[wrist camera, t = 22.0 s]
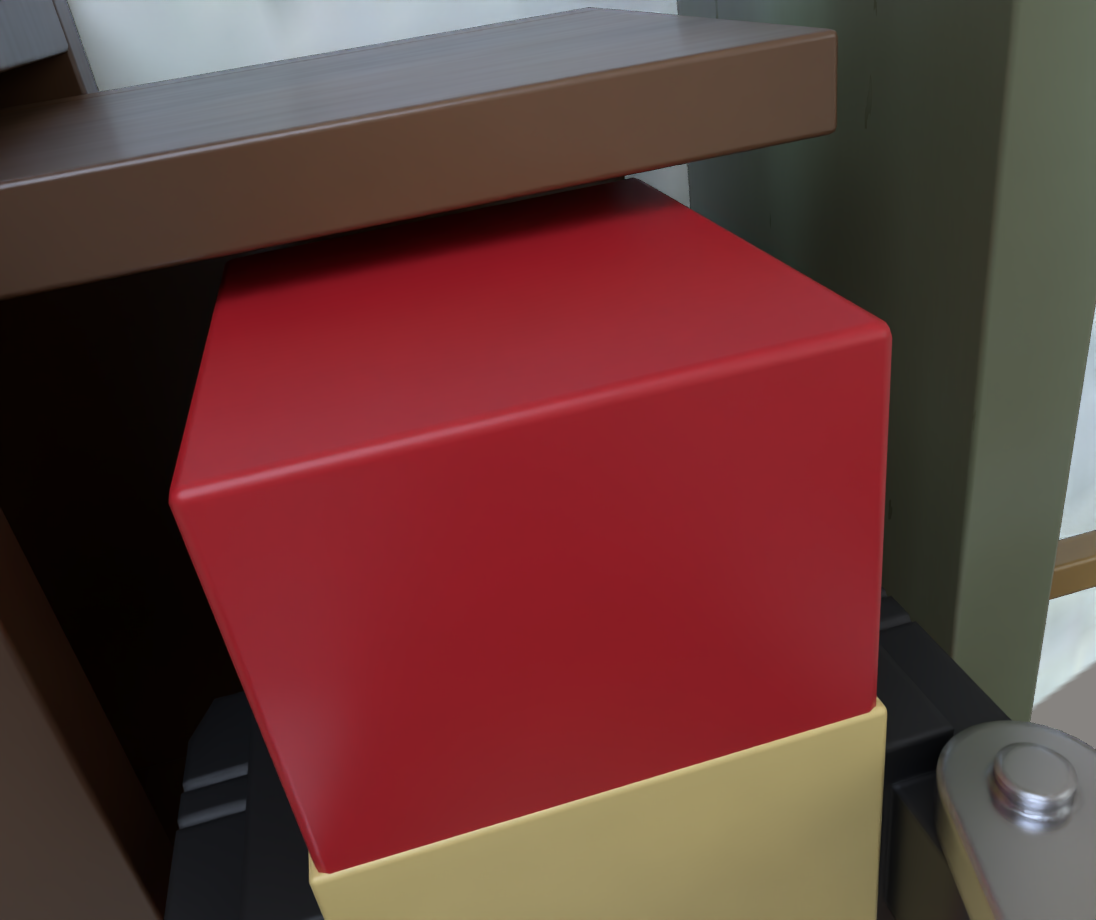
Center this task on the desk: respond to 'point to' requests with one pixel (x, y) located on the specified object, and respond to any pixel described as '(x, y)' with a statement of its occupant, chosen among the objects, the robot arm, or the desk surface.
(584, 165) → the drawer
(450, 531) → the red and yellow block
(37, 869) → the cabinet
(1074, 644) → the desk surface
